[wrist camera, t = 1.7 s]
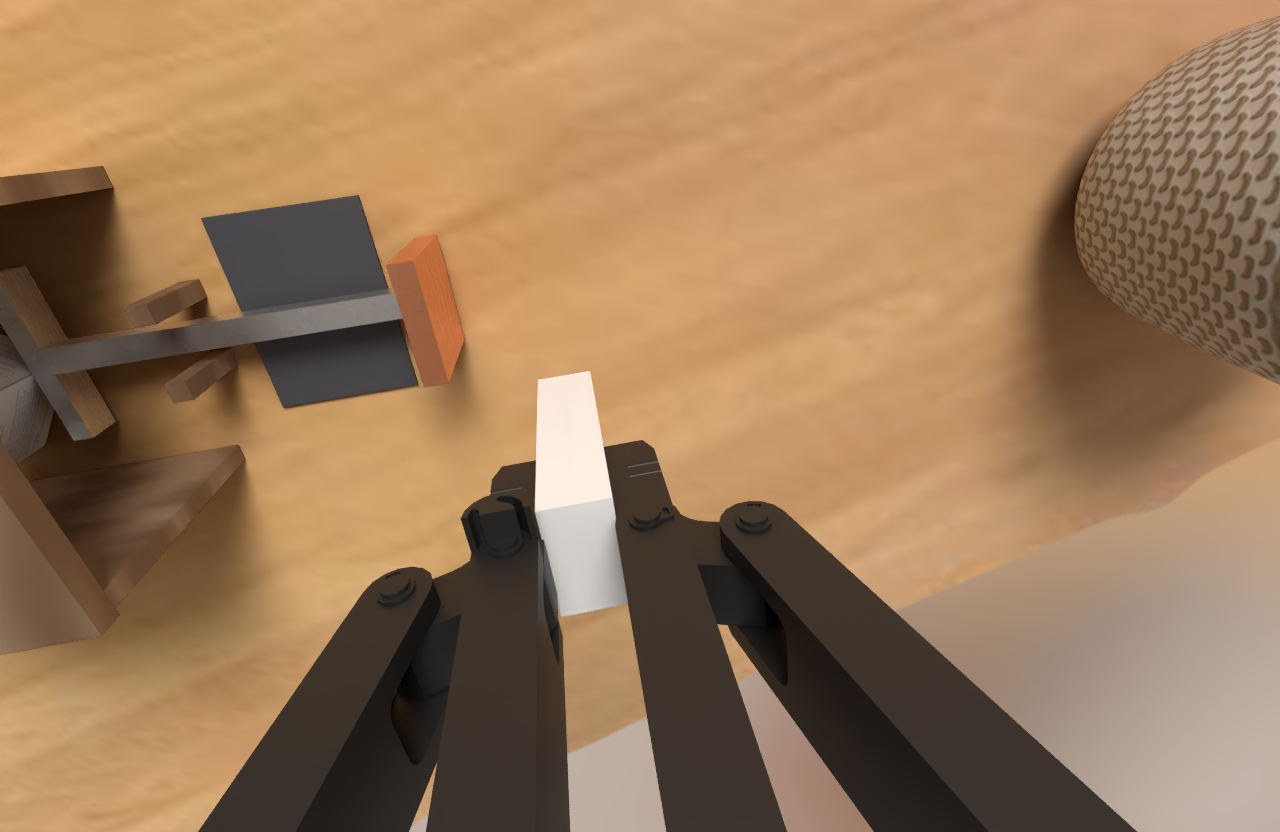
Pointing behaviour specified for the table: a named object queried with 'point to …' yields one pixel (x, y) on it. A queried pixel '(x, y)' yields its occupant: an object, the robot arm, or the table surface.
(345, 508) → the table surface
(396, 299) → the plunger
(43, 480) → the tunnel
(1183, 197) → the planter
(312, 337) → the pad
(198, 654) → the table surface
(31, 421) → the light bulb box
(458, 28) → the table surface
